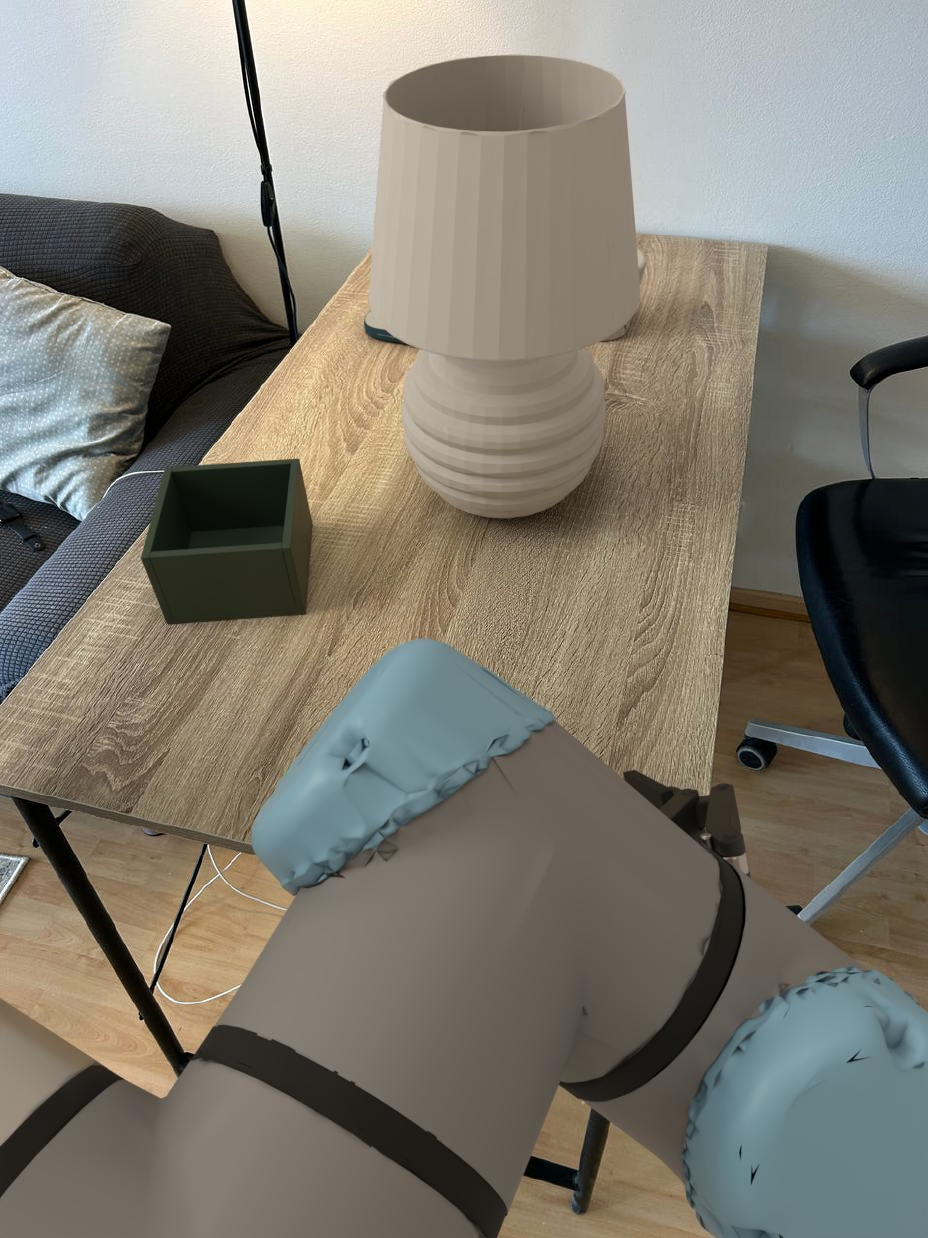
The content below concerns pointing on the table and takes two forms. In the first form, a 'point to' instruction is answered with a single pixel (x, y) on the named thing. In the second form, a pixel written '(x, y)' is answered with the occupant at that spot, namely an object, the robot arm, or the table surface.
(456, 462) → the table lamp
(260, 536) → the dark green open box
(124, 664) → the table surface
